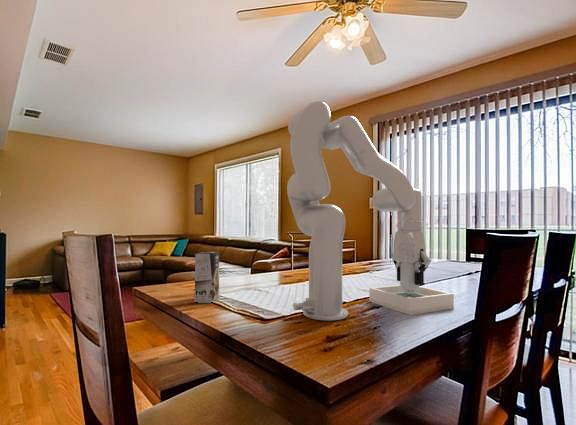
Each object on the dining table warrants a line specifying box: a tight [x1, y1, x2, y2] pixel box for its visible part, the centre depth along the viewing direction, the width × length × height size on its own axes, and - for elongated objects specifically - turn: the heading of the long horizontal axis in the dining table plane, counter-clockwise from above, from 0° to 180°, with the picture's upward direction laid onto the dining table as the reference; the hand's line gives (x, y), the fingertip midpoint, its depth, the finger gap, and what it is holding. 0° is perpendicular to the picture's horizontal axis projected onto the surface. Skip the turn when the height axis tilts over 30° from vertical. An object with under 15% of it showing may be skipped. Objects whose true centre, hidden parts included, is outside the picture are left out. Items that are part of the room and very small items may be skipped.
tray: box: [368, 284, 455, 316], centre depth 108 cm, size 18×18×4 cm
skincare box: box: [399, 255, 420, 293], centre depth 109 cm, size 6×4×12 cm
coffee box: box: [193, 251, 220, 304], centre depth 114 cm, size 9×6×16 cm
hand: (409, 282), depth 109 cm, fingers closed on skincare box, 7 cm apart
